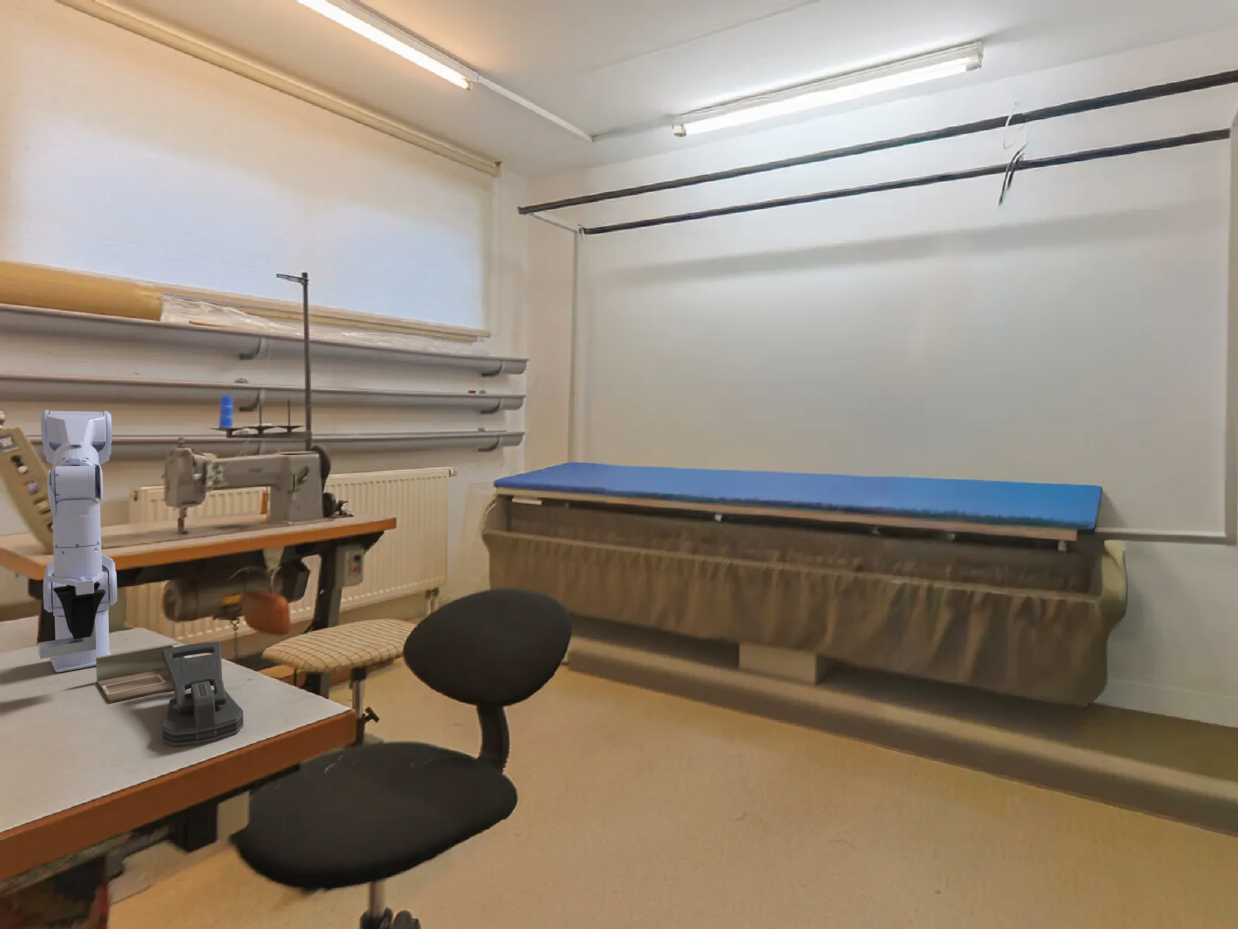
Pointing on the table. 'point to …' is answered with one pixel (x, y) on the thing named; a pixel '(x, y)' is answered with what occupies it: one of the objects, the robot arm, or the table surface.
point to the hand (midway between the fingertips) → (80, 634)
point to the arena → (134, 673)
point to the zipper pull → (198, 698)
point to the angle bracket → (66, 646)
